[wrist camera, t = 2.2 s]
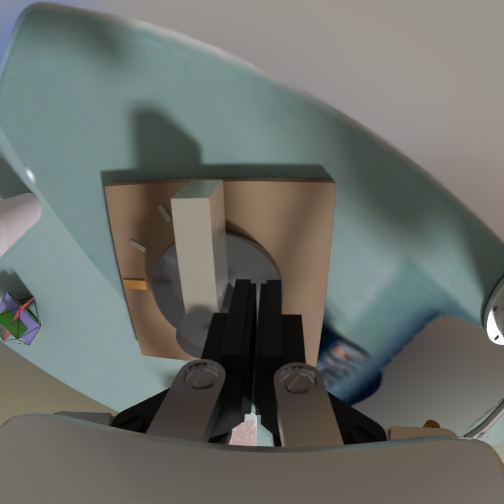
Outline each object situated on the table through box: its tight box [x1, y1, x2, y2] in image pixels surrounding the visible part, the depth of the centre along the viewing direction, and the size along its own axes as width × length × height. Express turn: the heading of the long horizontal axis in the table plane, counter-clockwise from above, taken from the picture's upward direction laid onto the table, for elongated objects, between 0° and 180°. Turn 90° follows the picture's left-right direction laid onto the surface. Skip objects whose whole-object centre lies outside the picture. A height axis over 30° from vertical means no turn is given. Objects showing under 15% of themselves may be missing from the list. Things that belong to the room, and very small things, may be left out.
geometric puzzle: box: [0, 291, 42, 346], centre depth 33 cm, size 7×7×8 cm
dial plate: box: [105, 177, 336, 366], centre depth 31 cm, size 20×20×2 cm
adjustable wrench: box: [463, 402, 504, 441], centre depth 39 cm, size 25×6×2 cm, turn 161°
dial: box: [152, 180, 283, 359], centre depth 26 cm, size 16×12×7 cm
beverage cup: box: [229, 412, 257, 446], centre depth 35 cm, size 6×6×14 cm
